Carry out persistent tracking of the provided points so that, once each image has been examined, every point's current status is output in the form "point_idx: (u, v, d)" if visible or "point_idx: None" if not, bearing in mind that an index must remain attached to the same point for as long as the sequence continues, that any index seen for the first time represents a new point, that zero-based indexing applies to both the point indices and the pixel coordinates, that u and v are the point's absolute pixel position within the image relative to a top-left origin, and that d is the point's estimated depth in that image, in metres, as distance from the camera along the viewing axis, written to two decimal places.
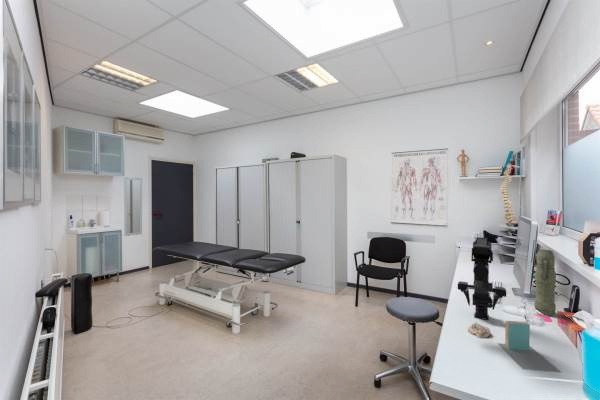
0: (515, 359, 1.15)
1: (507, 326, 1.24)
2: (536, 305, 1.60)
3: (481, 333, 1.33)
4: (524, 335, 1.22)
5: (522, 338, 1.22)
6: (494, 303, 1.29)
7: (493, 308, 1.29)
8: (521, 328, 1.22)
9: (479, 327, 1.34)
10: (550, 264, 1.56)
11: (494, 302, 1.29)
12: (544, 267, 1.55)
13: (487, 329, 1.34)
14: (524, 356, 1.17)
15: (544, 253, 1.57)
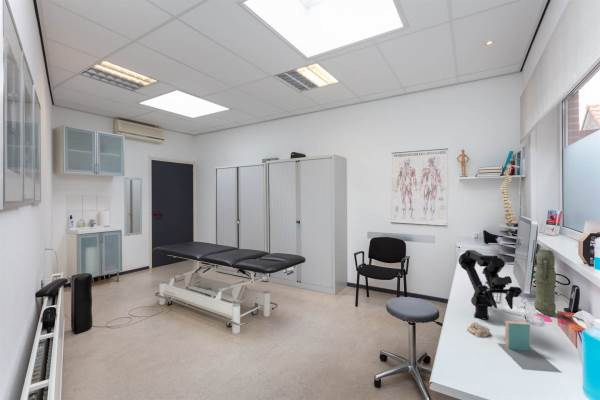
0: (515, 359, 1.15)
1: (507, 326, 1.24)
2: (536, 305, 1.60)
3: (480, 333, 1.33)
4: (524, 335, 1.22)
5: (522, 338, 1.22)
6: (511, 301, 1.34)
7: (512, 306, 1.33)
8: (521, 328, 1.22)
9: (478, 327, 1.35)
10: (550, 264, 1.56)
11: (511, 300, 1.34)
12: (544, 267, 1.55)
13: (486, 329, 1.35)
14: (524, 356, 1.17)
15: (544, 253, 1.57)
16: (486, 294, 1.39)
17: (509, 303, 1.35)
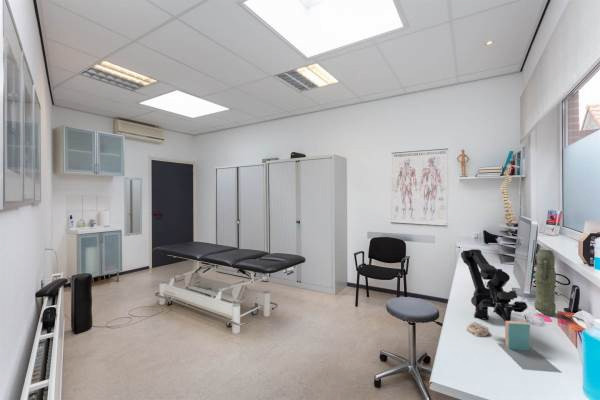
0: (515, 359, 1.15)
1: (507, 326, 1.24)
2: (536, 305, 1.60)
3: (479, 332, 1.34)
4: (524, 335, 1.22)
5: (522, 338, 1.22)
6: (509, 316, 1.30)
7: None
8: (521, 328, 1.22)
9: (477, 326, 1.35)
10: (550, 264, 1.56)
11: (509, 315, 1.31)
12: (544, 267, 1.55)
13: (485, 328, 1.35)
14: (524, 356, 1.17)
15: (544, 253, 1.57)
16: (498, 309, 1.34)
17: None
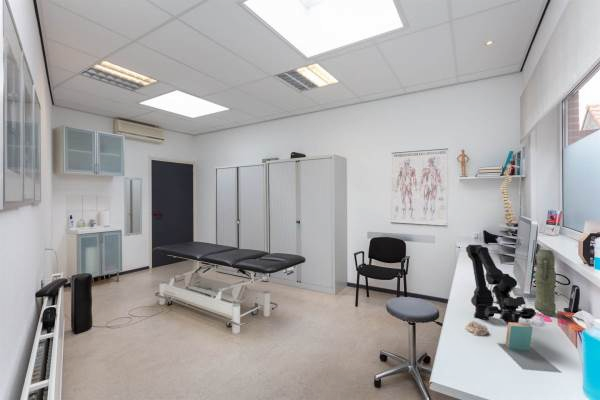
0: (515, 359, 1.15)
1: (509, 328, 1.22)
2: (536, 305, 1.60)
3: (478, 331, 1.35)
4: (526, 337, 1.20)
5: (523, 339, 1.21)
6: None
7: None
8: (523, 330, 1.20)
9: (476, 325, 1.36)
10: (550, 264, 1.56)
11: (516, 322, 1.25)
12: (544, 267, 1.55)
13: (484, 327, 1.36)
14: (524, 356, 1.17)
15: (544, 253, 1.57)
16: (504, 316, 1.28)
17: None
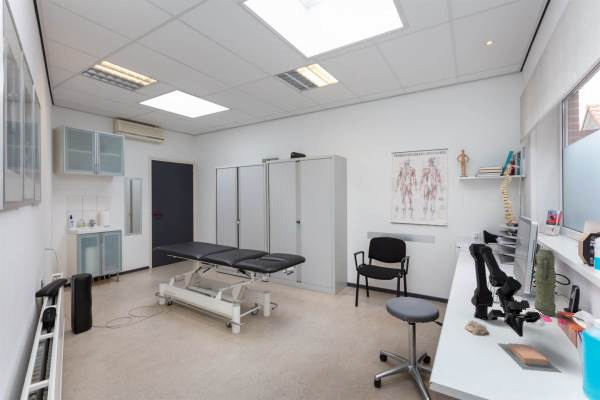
0: (515, 359, 1.15)
1: (521, 358, 1.14)
2: (536, 305, 1.60)
3: (477, 331, 1.35)
4: None
5: None
6: (521, 327, 1.22)
7: (522, 334, 1.20)
8: None
9: (475, 325, 1.37)
10: (550, 264, 1.56)
11: (521, 326, 1.22)
12: (544, 267, 1.55)
13: (483, 327, 1.36)
14: None
15: (544, 253, 1.57)
16: (508, 320, 1.25)
17: None
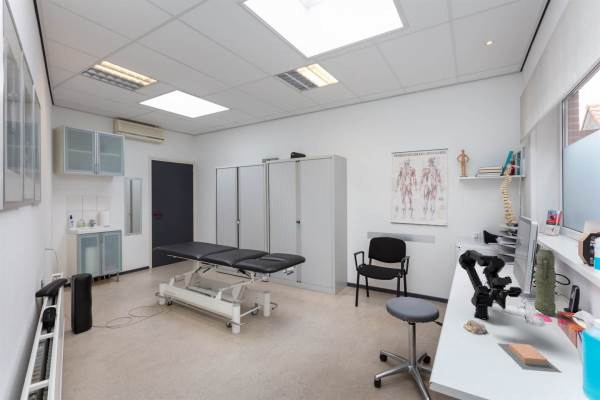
0: (515, 359, 1.15)
1: (521, 358, 1.14)
2: (536, 305, 1.60)
3: (476, 330, 1.36)
4: None
5: None
6: (504, 301, 1.35)
7: (505, 306, 1.33)
8: None
9: (474, 324, 1.38)
10: (550, 264, 1.56)
11: (504, 300, 1.35)
12: (544, 267, 1.55)
13: (482, 326, 1.37)
14: None
15: (544, 253, 1.57)
16: (493, 295, 1.38)
17: None
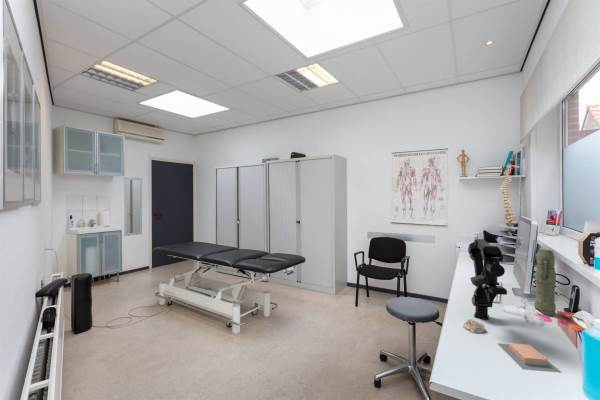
0: (515, 359, 1.15)
1: (521, 358, 1.14)
2: (536, 305, 1.60)
3: (475, 329, 1.37)
4: None
5: None
6: (488, 296, 1.41)
7: (489, 301, 1.42)
8: None
9: (473, 323, 1.39)
10: (550, 264, 1.56)
11: (488, 295, 1.41)
12: (544, 267, 1.55)
13: (481, 325, 1.38)
14: None
15: (544, 253, 1.57)
16: None
17: None
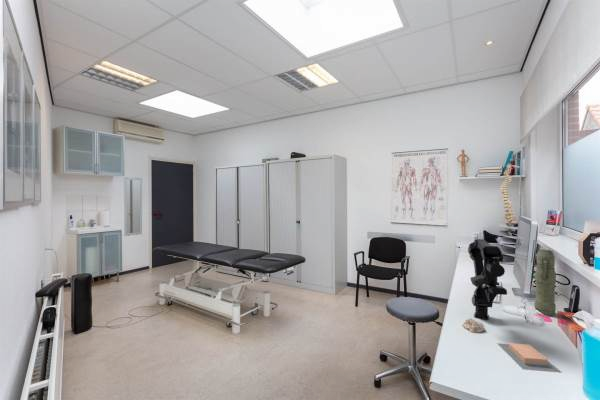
0: (515, 359, 1.15)
1: (521, 358, 1.14)
2: (536, 305, 1.60)
3: (474, 328, 1.38)
4: None
5: None
6: (488, 296, 1.41)
7: (489, 301, 1.42)
8: None
9: (472, 322, 1.39)
10: (550, 264, 1.56)
11: (488, 295, 1.41)
12: (544, 267, 1.55)
13: (480, 325, 1.39)
14: None
15: (544, 253, 1.57)
16: None
17: None
